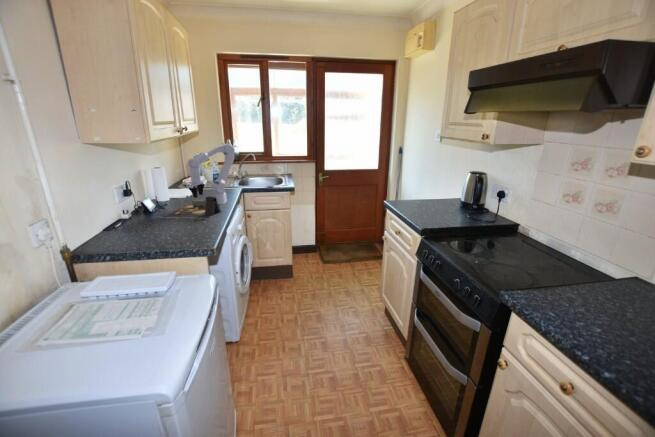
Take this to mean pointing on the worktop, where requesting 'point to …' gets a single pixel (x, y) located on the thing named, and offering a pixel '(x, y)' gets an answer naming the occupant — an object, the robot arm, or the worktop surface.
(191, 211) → the board
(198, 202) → the bar
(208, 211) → the phone stand
